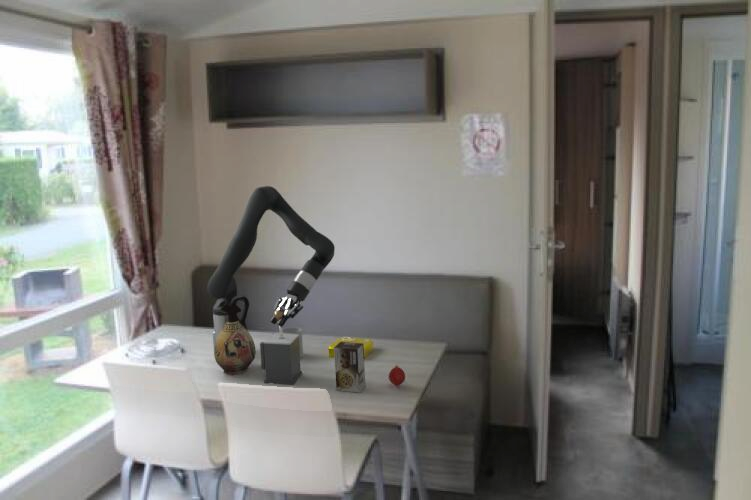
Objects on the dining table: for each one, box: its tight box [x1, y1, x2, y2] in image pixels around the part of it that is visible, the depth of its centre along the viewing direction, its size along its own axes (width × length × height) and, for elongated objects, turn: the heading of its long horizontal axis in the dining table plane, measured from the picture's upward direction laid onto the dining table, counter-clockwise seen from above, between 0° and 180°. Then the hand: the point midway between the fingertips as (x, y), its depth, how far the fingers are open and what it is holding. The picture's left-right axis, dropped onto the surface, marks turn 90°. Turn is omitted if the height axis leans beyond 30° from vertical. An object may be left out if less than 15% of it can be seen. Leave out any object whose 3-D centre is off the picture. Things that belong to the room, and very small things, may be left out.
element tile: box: [328, 336, 374, 359], centre depth 269 cm, size 15×15×5 cm
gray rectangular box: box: [259, 332, 303, 385], centre depth 242 cm, size 14×11×16 cm
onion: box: [388, 364, 406, 387], centre depth 232 cm, size 6×6×8 cm
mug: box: [277, 326, 304, 359], centre depth 266 cm, size 12×8×11 cm
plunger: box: [273, 309, 285, 339], centre depth 240 cm, size 8×8×19 cm
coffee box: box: [334, 342, 366, 394], centre depth 231 cm, size 9×6×16 cm
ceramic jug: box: [213, 294, 257, 376], centre depth 249 cm, size 17×15×30 cm
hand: (276, 324), depth 238 cm, fingers closed on plunger, 4 cm apart
